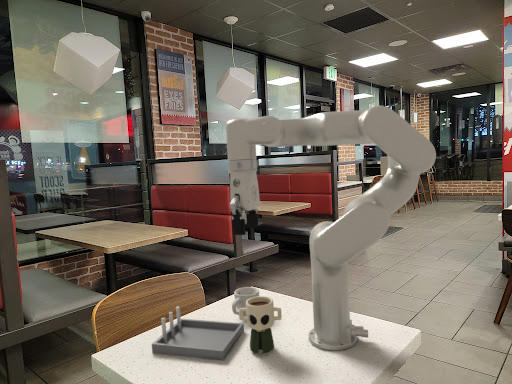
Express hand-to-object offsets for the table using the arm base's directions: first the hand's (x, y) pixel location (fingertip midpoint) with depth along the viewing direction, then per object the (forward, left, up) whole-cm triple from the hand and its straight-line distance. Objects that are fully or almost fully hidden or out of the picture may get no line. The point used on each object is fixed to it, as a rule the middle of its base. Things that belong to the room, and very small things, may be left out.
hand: (246, 231), depth 99 cm
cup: (+7, -14, -30) cm, 34 cm away
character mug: (-4, +5, -30) cm, 31 cm away
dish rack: (+14, +4, -30) cm, 33 cm away
